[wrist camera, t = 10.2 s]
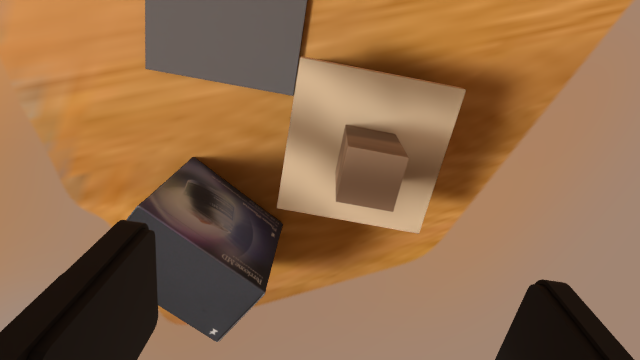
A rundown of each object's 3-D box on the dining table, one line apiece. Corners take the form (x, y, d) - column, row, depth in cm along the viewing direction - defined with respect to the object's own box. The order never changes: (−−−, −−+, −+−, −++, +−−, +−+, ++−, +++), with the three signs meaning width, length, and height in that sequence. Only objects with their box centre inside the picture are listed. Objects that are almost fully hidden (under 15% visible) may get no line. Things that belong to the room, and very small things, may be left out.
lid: (301, 56, 25) (292, 64, 19) (461, 87, 25) (497, 104, 20) (278, 202, 29) (265, 243, 24) (416, 227, 30) (435, 273, 24)
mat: (147, -109, 26) (144, -111, 26) (318, -75, 26) (318, -77, 26) (147, 68, 30) (145, 68, 30) (293, 94, 31) (293, 95, 31)
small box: (287, 221, 36) (270, 294, 26) (247, 264, 38) (217, 347, 28) (194, 151, 33) (136, 203, 23) (156, 202, 35) (89, 269, 26)
